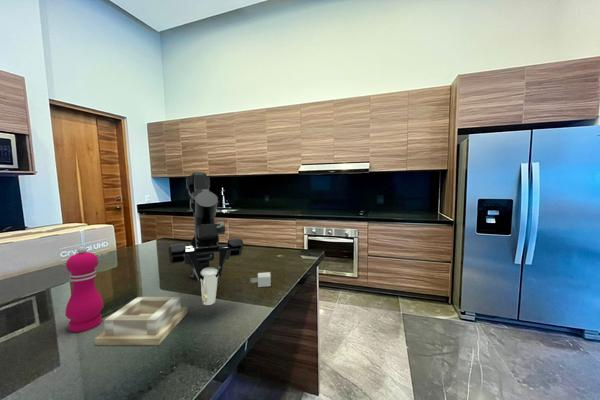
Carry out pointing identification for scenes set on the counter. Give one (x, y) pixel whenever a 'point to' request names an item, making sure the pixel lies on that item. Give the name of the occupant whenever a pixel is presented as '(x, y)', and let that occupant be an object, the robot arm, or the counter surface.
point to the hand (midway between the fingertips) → (210, 279)
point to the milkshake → (209, 285)
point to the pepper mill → (83, 292)
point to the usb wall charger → (262, 279)
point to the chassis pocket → (142, 322)
